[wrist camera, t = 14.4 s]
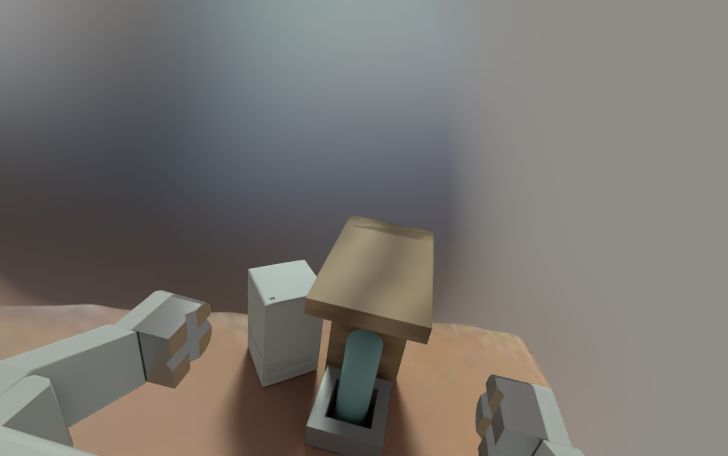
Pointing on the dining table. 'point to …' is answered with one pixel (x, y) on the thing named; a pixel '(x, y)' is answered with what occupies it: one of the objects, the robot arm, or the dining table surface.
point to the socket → (342, 436)
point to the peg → (358, 376)
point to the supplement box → (282, 322)
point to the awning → (376, 289)
